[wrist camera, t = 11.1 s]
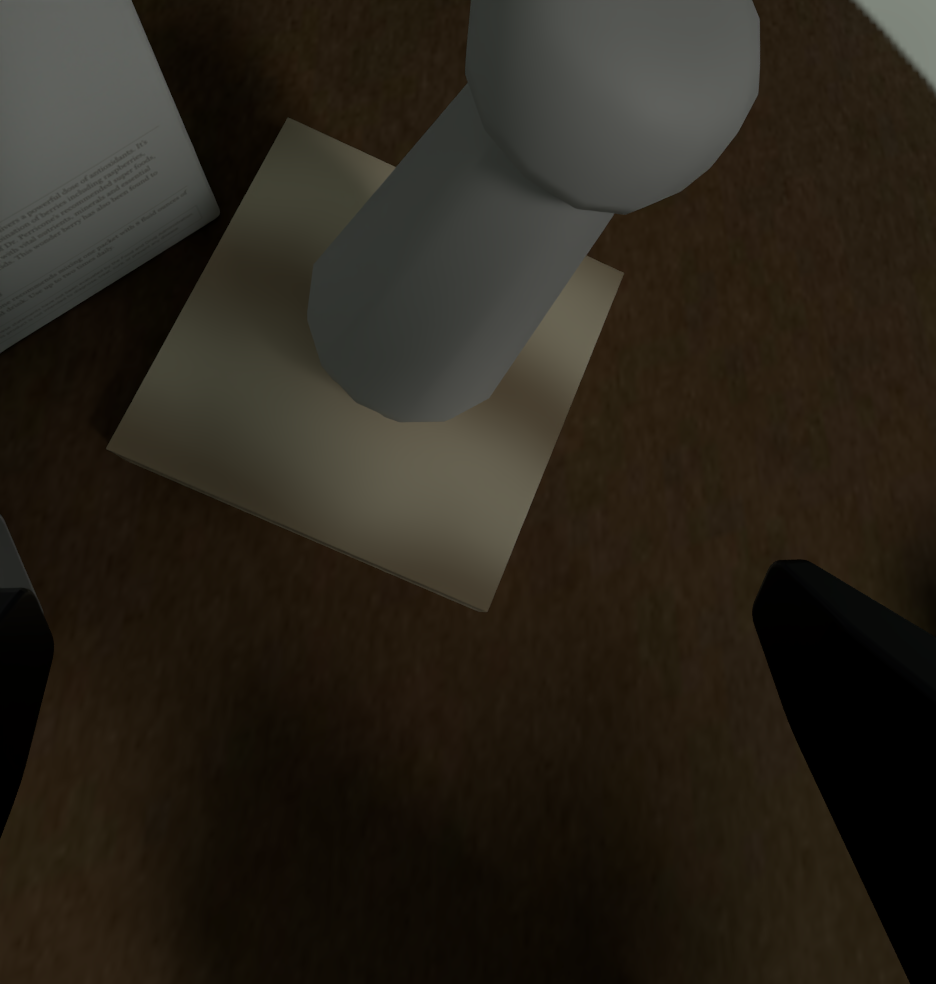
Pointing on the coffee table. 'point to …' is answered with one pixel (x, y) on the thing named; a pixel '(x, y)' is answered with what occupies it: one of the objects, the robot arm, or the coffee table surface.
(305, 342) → the oak block
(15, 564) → the usb wall charger
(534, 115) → the salt shaker
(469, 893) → the coffee table surface
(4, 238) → the supplement box
